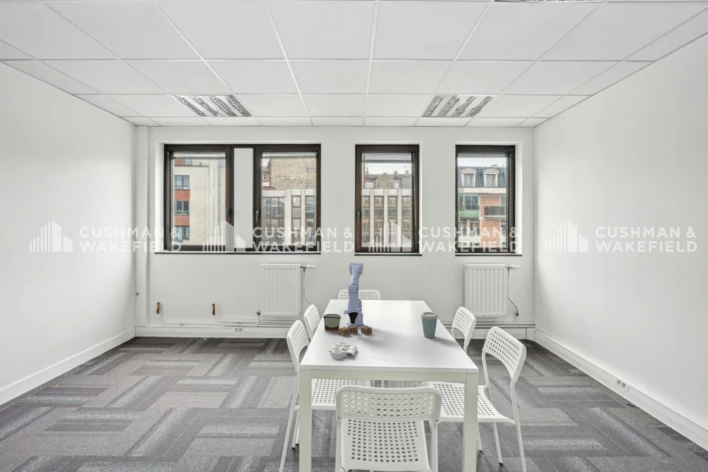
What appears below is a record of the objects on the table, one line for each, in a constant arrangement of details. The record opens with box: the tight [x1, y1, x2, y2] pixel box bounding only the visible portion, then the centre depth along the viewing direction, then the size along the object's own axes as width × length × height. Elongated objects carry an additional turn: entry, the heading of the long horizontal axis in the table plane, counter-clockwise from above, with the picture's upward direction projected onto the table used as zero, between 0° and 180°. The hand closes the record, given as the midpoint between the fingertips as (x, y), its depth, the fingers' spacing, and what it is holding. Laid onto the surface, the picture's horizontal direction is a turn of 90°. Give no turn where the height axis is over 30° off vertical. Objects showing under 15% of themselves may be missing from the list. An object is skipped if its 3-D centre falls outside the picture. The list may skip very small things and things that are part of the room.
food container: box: [322, 313, 342, 332], centre depth 228 cm, size 12×6×10 cm, turn 84°
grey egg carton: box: [328, 341, 358, 360], centre depth 187 cm, size 3×18×15 cm
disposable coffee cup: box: [420, 311, 438, 339], centre depth 218 cm, size 11×11×15 cm
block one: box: [360, 325, 373, 336], centre depth 222 cm, size 5×5×4 cm
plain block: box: [346, 325, 359, 335], centre depth 223 cm, size 5×5×4 cm
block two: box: [338, 326, 351, 337], centre depth 218 cm, size 5×5×4 cm
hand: (352, 323), depth 223 cm, fingers closed
